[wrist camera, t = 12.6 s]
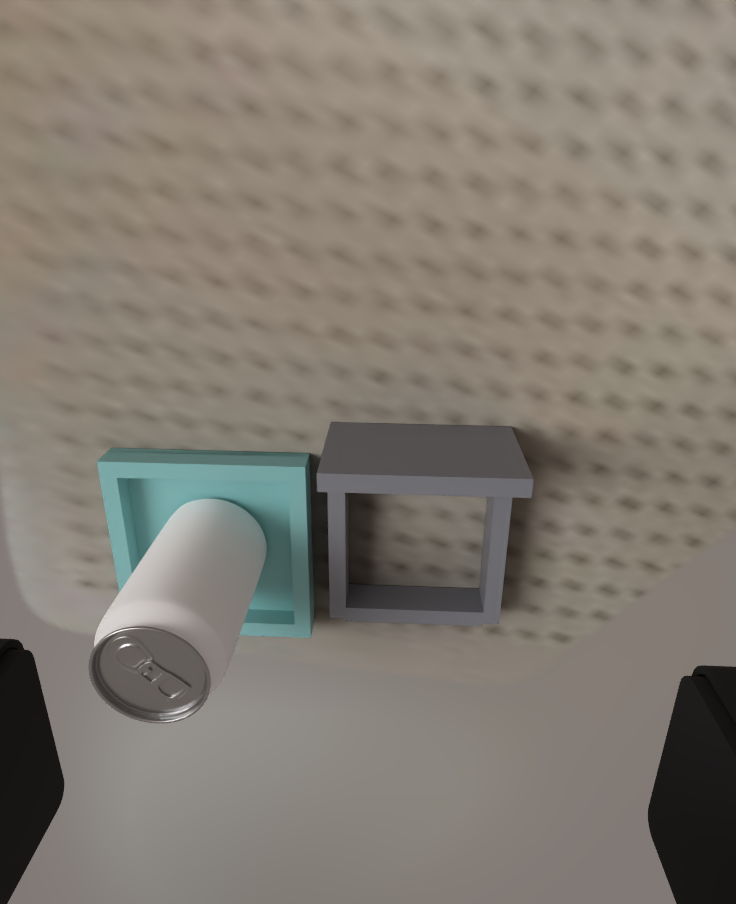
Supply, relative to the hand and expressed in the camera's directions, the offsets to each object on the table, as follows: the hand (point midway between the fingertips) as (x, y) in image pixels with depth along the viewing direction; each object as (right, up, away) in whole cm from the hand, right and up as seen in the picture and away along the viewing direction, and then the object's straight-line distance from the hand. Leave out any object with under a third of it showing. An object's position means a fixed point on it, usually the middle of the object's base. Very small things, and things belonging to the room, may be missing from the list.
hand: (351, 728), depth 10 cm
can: (-9, -1, +32) cm, 33 cm away
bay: (+3, -1, +31) cm, 31 cm away
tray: (-9, -1, +32) cm, 33 cm away
